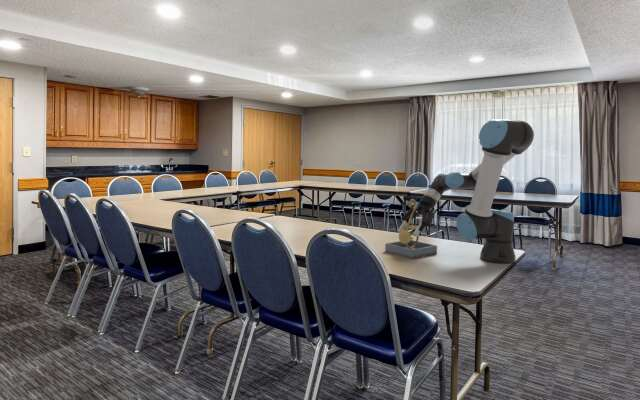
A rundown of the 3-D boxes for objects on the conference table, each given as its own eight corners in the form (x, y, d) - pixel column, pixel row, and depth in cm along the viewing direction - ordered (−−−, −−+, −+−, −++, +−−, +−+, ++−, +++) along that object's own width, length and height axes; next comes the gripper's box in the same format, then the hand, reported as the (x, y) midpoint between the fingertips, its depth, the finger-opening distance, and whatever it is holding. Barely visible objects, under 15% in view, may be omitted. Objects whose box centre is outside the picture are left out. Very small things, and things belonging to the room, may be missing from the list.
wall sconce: (412, 253, 201) (416, 200, 198) (395, 249, 208) (398, 198, 204) (426, 248, 212) (430, 198, 208) (409, 245, 218) (413, 196, 215)
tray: (436, 253, 208) (437, 245, 208) (412, 258, 198) (412, 250, 197) (409, 247, 222) (409, 239, 222) (385, 251, 212) (385, 243, 211)
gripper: (451, 206, 208) (428, 242, 200) (416, 202, 225) (394, 234, 218) (444, 196, 204) (421, 232, 196) (409, 192, 222) (387, 225, 214)
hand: (407, 233), depth 207 cm, fingers closed on wall sconce, 9 cm apart
